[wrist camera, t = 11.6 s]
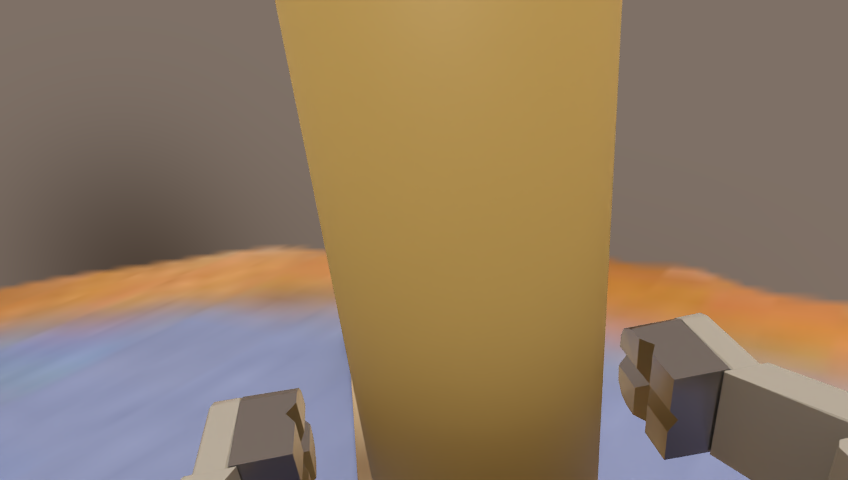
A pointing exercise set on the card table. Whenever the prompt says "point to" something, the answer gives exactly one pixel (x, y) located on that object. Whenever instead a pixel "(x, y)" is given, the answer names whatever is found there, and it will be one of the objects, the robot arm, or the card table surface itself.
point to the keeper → (465, 222)
